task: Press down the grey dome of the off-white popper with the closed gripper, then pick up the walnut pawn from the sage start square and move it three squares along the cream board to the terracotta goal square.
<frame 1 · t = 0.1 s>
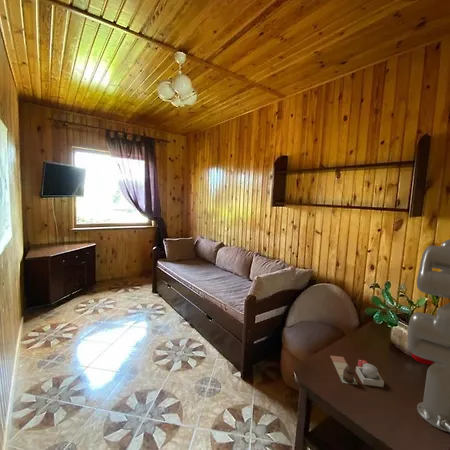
pawn: (348, 379, 114), point 1 cm above the table, touching game board
dome: (369, 371, 115), point 4 cm above the table, slide at 0.0 cm
popper base: (368, 380, 115), on the table
game board: (342, 370, 122), on the table
decorative ornament: (421, 359, 133), on the table
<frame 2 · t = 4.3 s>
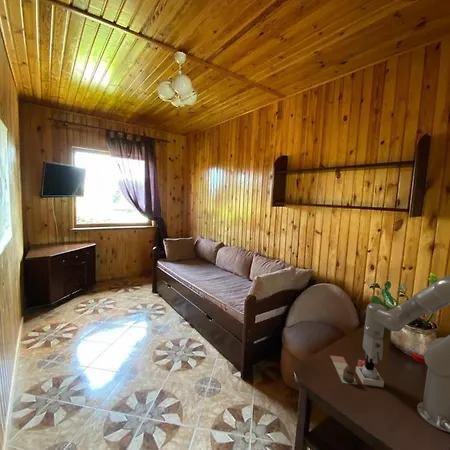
hand: (369, 368, 115), 6 cm above the table, tool pointing down, fingers closed
dome: (369, 373, 115), point 3 cm above the table, slide at 0.7 cm, touching gripper
everything else where it was.
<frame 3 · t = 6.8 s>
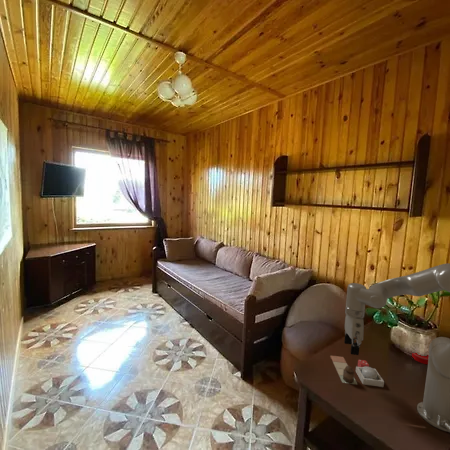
hand: (351, 348, 113), 16 cm above the table, tool pointing down, fingers open, 7 cm apart
dome: (369, 374, 115), point 3 cm above the table, slide at 1.5 cm
everything else where it was.
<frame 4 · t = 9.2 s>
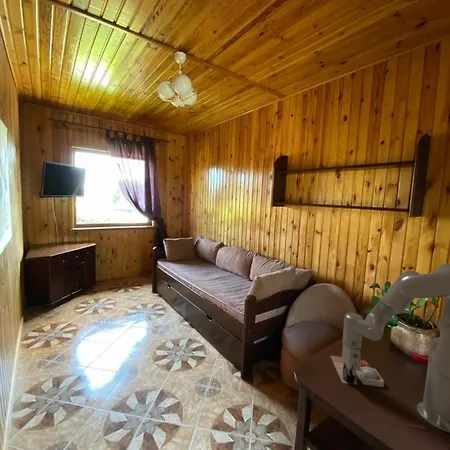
hand: (348, 378, 114), 1 cm above the table, tool pointing down, fingers closed on pawn, 4 cm apart
pawn: (348, 379, 114), point 1 cm above the table, touching game board, gripper
everything else where it was.
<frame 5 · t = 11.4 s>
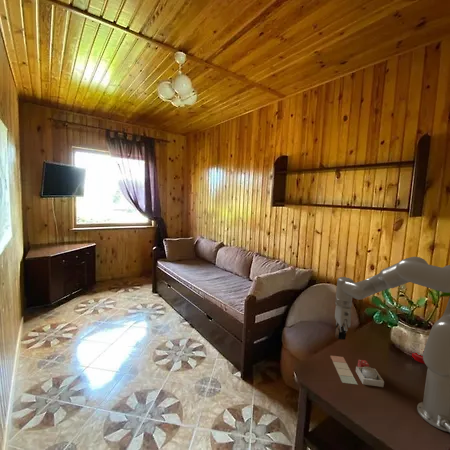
hand: (340, 335, 127), 14 cm above the table, tool pointing down, fingers closed on pawn, 4 cm apart
pawn: (339, 337, 127), point 13 cm above the table, touching gripper
everything else where it was.
when the fingers open (3 cm above the table, at t = 13.8 s): pawn drops 1 cm, resting on game board.
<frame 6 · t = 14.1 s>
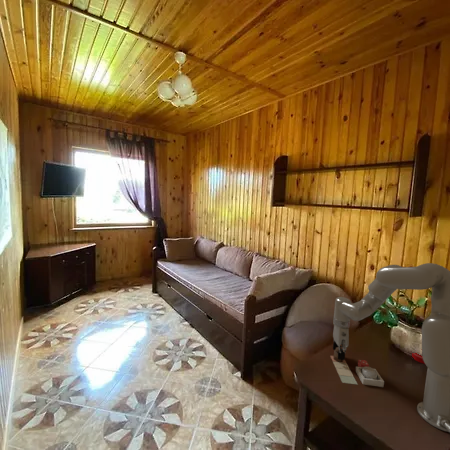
hand: (338, 354, 129), 3 cm above the table, tool pointing down, fingers open, 7 cm apart
pawn: (338, 359, 129), point 1 cm above the table, touching game board
everything else where it was.
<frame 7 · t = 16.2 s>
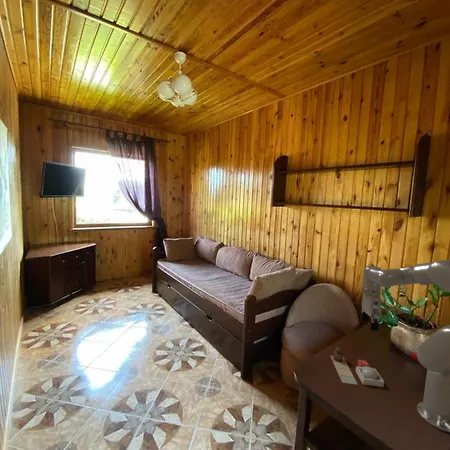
hand: (369, 325, 123), 22 cm above the table, tool pointing down, fingers open, 9 cm apart
nothing on the table moved.
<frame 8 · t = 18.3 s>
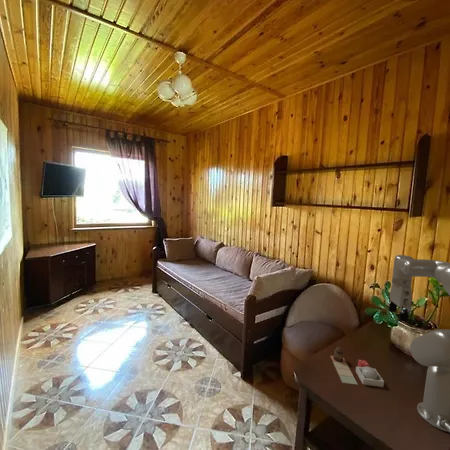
hand: (397, 316, 119), 28 cm above the table, tool pointing down, fingers open, 9 cm apart
nothing on the table moved.
at the end: dome slide at 1.5 cm; pawn 0.2 cm from the target spot on the game board, point 0.7 cm above the game board's base; pawn tilted 0° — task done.
